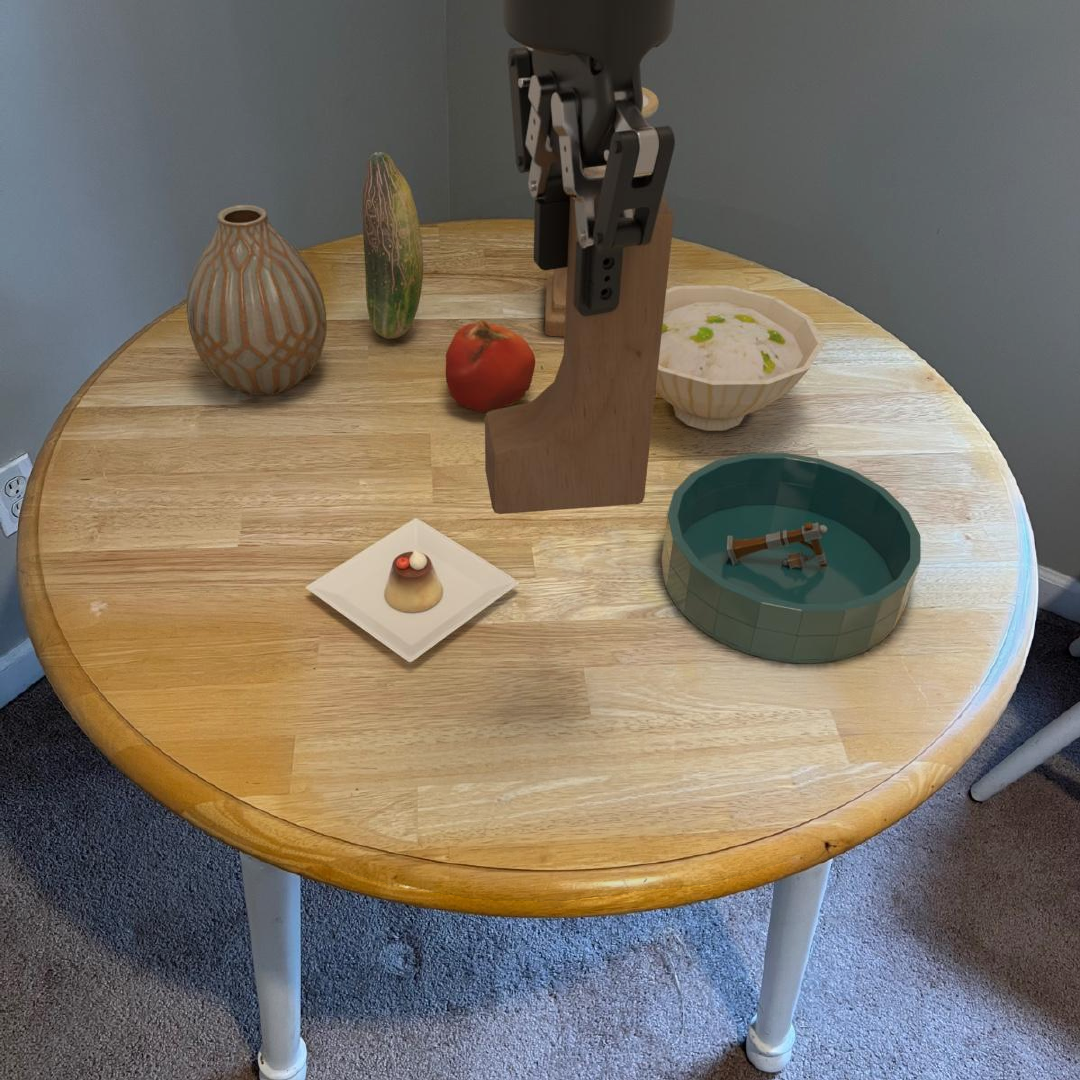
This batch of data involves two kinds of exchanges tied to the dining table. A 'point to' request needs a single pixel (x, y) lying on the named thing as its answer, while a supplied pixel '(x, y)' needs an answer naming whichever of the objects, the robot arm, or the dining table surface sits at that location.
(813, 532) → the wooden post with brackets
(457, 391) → the tomato
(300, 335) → the vase
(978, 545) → the dining table surface
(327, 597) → the dessert
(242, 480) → the dining table surface
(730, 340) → the bowl
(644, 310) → the wooden block
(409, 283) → the vegetable
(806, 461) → the teal bowl
